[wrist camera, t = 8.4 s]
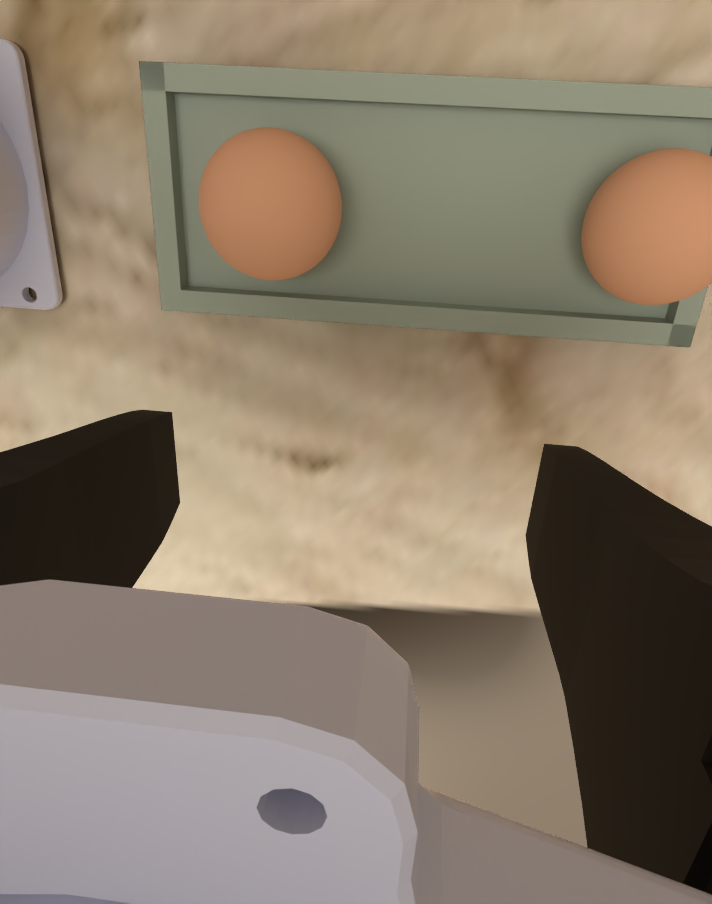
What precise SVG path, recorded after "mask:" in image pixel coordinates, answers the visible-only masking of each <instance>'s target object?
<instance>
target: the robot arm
mask: <svg viewBox="0 0 712 904" xmlns="http://www.w3.org/2000/svg"><path fill="white" fill-rule="evenodd" d="M29 288H32V289H33V290H34V291H35V292H36V294H37V299H36V300H35V299H33V298H32V297H31V296H30V295H29V292H28V291H29ZM61 302H62V289H61V282H60V276H59V270H58V264H57V257H56V251H55V245H54V239H53V233H52V226H51V220H50V214H49V208H48V202H47V195H46V189H45V183H44V177H43V170H42V164H41V158H40V152H39V146H38V139H37V133H36V127H35V121H34V115H33V108H32V102H31V96H30V90H29V83H28V77H27V71H26V65H25V59H24V56H23V53H22V51H21V50H20V48H19V47H18V46H17V45H16V44H15V43H13V42H12V41H8V40H5V39H1V38H0V307H12V308H26V309H40V310H50V309H53V308H56V307H57V306H59V305H60V304H61ZM179 504H180V497H179V486H178V475H177V464H176V452H175V441H174V430H173V419H172V412H162V411H150V410H137V411H131V412H127V413H123V414H119V415H116V416H113V417H110V418H106V419H103V420H100V421H97V422H94V423H91V424H88V425H85V426H82V427H79V428H76V429H73V430H71V431H68V432H65V433H62V434H59V435H56V436H53V437H49V438H46V439H43V440H40V441H36V442H33V443H30V444H27V445H23V446H20V447H17V448H13V449H10V450H7V451H4V452H0V904H712V526H710V525H708V524H706V523H704V522H702V521H700V520H698V519H696V518H694V517H692V516H691V515H689V514H687V513H685V512H684V511H682V510H680V509H678V508H677V507H675V506H673V505H671V504H670V503H668V502H666V501H665V500H663V499H661V498H660V497H658V496H656V495H655V494H653V493H652V492H650V491H648V490H647V489H645V488H644V487H642V486H640V485H639V484H637V483H636V482H634V481H633V480H631V479H630V478H628V477H627V476H625V475H624V474H622V473H621V472H619V471H618V470H616V469H615V468H613V467H612V466H610V465H609V464H607V463H605V462H604V461H602V460H601V459H599V458H598V457H596V456H594V455H593V454H591V453H589V452H588V451H586V450H584V449H582V448H579V447H575V446H563V445H552V444H544V447H543V452H542V457H541V462H540V467H539V472H538V477H537V482H536V487H535V492H534V497H533V502H532V507H531V512H530V517H529V522H528V527H527V532H526V542H527V550H528V559H529V566H530V573H531V579H532V582H533V586H534V590H535V593H536V597H537V600H538V604H539V607H540V611H541V614H542V617H543V621H544V624H545V628H546V631H547V634H548V637H549V641H550V644H551V648H552V651H553V655H554V658H555V661H556V665H557V668H558V671H559V675H560V679H561V683H562V687H563V691H564V696H565V700H566V706H567V712H568V717H569V724H570V730H571V735H572V740H573V747H574V754H575V760H576V767H577V773H578V780H579V787H580V794H581V800H582V807H583V815H584V822H585V831H586V838H587V846H588V848H586V847H584V846H581V845H578V844H576V843H573V842H570V841H568V840H565V839H563V838H560V837H557V836H555V835H552V834H549V833H547V832H544V831H541V830H539V829H536V828H533V827H530V826H528V825H525V824H523V823H520V822H517V821H515V820H512V819H509V818H507V817H504V816H501V815H499V814H496V813H494V812H491V811H488V810H486V809H483V808H480V807H478V806H475V805H472V804H470V803H467V802H464V801H462V800H459V799H456V798H454V797H451V796H448V795H446V794H443V793H440V792H438V791H435V790H433V789H429V788H427V787H425V786H422V785H421V784H420V783H419V782H418V761H419V760H418V759H419V754H418V753H419V706H418V702H417V698H416V693H415V689H414V685H413V681H412V676H411V673H410V668H409V664H408V663H407V662H406V661H405V660H404V659H402V657H400V656H399V655H398V654H397V653H396V652H395V651H394V650H393V649H392V648H391V647H390V646H389V645H388V644H387V643H386V642H384V641H383V640H382V639H381V638H380V637H379V636H378V635H377V634H376V633H375V632H374V631H373V630H372V629H370V628H369V627H368V626H367V625H364V624H361V623H358V622H354V621H351V620H348V619H345V618H342V617H339V616H336V615H332V614H329V613H326V612H323V611H320V610H316V609H313V608H311V607H307V606H298V605H288V604H279V603H269V602H260V601H250V600H241V599H231V598H222V597H212V596H203V595H193V594H184V593H174V592H165V591H155V590H145V589H136V588H132V587H133V586H134V584H135V583H136V581H137V580H138V578H139V577H140V575H141V574H142V572H143V571H144V569H145V568H146V566H147V565H148V563H149V562H150V560H151V559H152V557H153V555H154V554H155V552H156V551H157V549H158V548H159V546H160V545H161V543H162V541H163V539H164V537H165V535H166V533H167V531H168V529H169V527H170V525H171V522H172V520H173V518H174V515H175V513H176V511H177V508H178V506H179Z"/></svg>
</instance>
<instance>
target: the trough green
mask: <svg viewBox="0 0 712 904" xmlns="http://www.w3.org/2000/svg"><path fill="white" fill-rule="evenodd" d="M139 68H140V79H141V90H142V101H143V112H144V123H145V134H146V145H147V156H148V167H149V178H150V188H151V199H152V210H153V221H154V232H155V243H156V254H157V265H158V276H159V287H160V298H161V309H162V310H166V311H180V312H194V313H209V314H223V315H237V316H251V317H265V318H280V319H294V320H308V321H322V322H336V323H350V324H365V325H379V326H393V327H407V328H421V329H436V330H450V331H464V332H478V333H492V334H507V335H521V336H535V337H549V338H563V339H578V340H592V341H606V342H620V343H634V344H649V345H663V346H677V347H690V346H691V342H692V339H693V335H694V332H695V329H696V325H697V322H698V318H699V315H700V312H701V308H702V305H703V302H704V298H705V295H706V291H707V288H708V286H707V287H705V288H704V289H703V290H701V291H699V292H697V293H696V294H694V295H692V296H690V297H688V298H685V299H682V300H680V301H676V302H673V303H668V304H661V305H642V304H635V303H631V302H627V301H624V300H622V299H620V298H617V297H616V296H614V295H612V294H611V293H609V292H607V291H606V290H605V289H604V288H603V287H601V286H600V285H599V283H598V282H597V281H596V280H595V279H594V277H593V276H592V274H591V273H590V271H589V269H588V267H587V265H586V262H585V259H584V256H583V251H582V244H581V233H582V226H583V221H584V217H585V214H586V211H587V208H588V206H589V203H590V201H591V199H592V198H593V196H594V195H595V193H596V192H597V190H598V189H599V187H600V186H601V185H602V183H603V182H604V181H605V180H606V179H607V178H608V177H609V176H610V175H611V174H612V173H613V172H615V171H616V170H617V169H618V168H619V167H621V166H622V165H624V164H625V163H627V162H629V161H630V160H632V159H634V158H636V157H639V156H641V155H643V154H646V153H649V152H652V151H656V150H661V149H669V148H683V149H691V150H695V151H699V152H702V153H705V154H707V155H709V156H711V157H712V88H708V87H686V86H665V85H643V84H621V83H600V82H578V81H556V80H535V79H513V78H492V77H470V76H448V75H427V74H405V73H383V72H362V71H340V70H318V69H297V68H275V67H253V66H232V65H210V64H188V63H167V62H145V61H139ZM265 127H271V128H279V129H283V130H287V131H290V132H292V133H295V134H297V135H299V136H301V137H302V138H304V139H306V140H307V141H309V142H310V143H311V144H312V145H314V146H315V147H316V148H317V149H318V150H319V151H320V152H321V153H322V154H323V155H324V157H325V158H326V159H327V161H328V162H329V164H330V166H331V167H332V169H333V171H334V173H335V176H336V178H337V180H338V184H339V187H340V191H341V198H342V217H341V223H340V228H339V231H338V234H337V237H336V239H335V241H334V243H333V245H332V247H331V249H330V250H329V252H328V253H327V255H326V256H325V257H324V258H323V259H322V260H321V261H320V262H319V263H318V264H317V265H316V266H314V267H313V268H312V269H310V270H308V271H307V272H305V273H303V274H301V275H299V276H297V277H293V278H290V279H285V280H263V279H258V278H254V277H251V276H248V275H246V274H244V273H242V272H240V271H238V270H236V269H235V268H233V267H232V266H231V265H229V264H228V263H227V262H226V261H225V260H224V259H223V258H222V257H221V256H220V255H219V254H218V253H217V251H216V250H215V249H214V247H213V246H212V244H211V243H210V241H209V239H208V237H207V235H206V233H205V231H204V228H203V225H202V221H201V217H200V212H199V188H200V183H201V179H202V175H203V172H204V170H205V167H206V165H207V164H208V162H209V160H210V158H211V157H212V156H213V154H214V153H215V152H216V151H217V149H218V148H219V147H220V146H221V145H222V144H223V143H225V142H226V141H227V140H229V139H230V138H231V137H233V136H235V135H237V134H239V133H241V132H244V131H247V130H250V129H256V128H265Z"/></svg>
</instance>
